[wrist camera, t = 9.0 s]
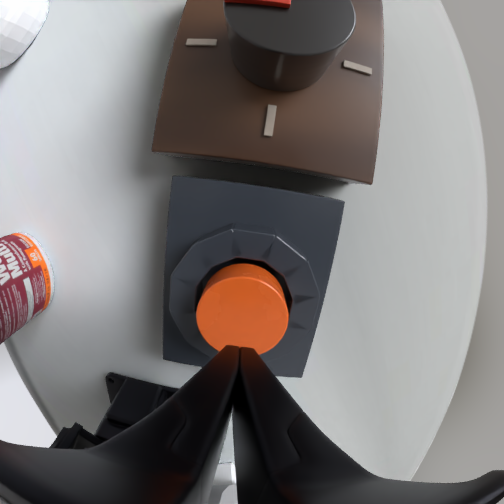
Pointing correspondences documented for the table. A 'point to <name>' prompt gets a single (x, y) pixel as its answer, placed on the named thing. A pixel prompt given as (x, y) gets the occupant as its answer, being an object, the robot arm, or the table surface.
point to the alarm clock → (224, 485)
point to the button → (242, 309)
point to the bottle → (19, 26)
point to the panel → (273, 103)
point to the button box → (247, 259)
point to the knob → (287, 39)
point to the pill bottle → (22, 282)
